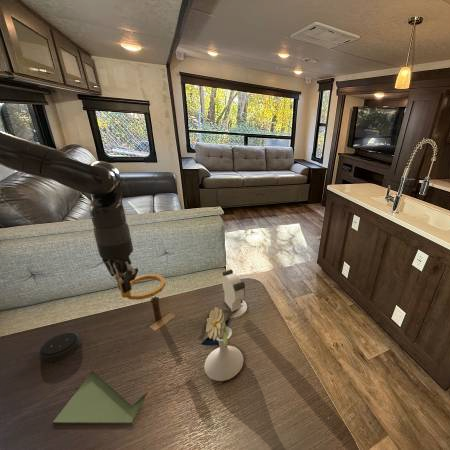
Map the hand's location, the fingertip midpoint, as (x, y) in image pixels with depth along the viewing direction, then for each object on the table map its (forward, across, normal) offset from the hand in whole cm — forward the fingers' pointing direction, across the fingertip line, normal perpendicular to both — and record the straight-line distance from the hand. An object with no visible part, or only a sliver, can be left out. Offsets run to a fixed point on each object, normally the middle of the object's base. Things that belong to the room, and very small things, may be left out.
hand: (125, 290), depth 73 cm
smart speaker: (+21, -14, -14) cm, 29 cm away
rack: (+21, -1, +9) cm, 22 cm away
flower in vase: (+21, +31, +7) cm, 38 cm away
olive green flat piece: (+21, +11, -14) cm, 27 cm away
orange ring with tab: (+3, 0, +5) cm, 6 cm away
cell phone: (+21, +18, +17) cm, 32 cm away
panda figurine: (+20, +16, +28) cm, 38 cm away
